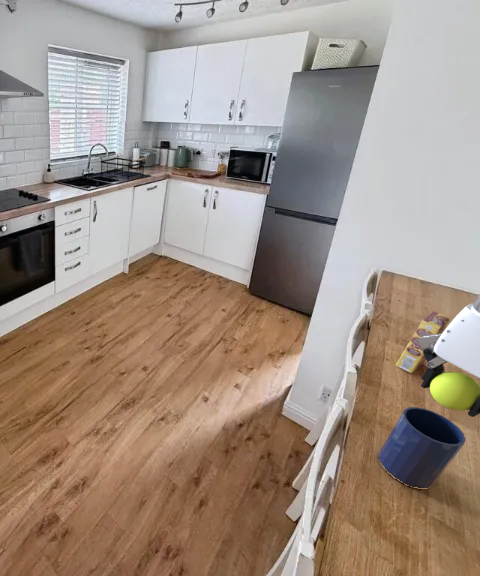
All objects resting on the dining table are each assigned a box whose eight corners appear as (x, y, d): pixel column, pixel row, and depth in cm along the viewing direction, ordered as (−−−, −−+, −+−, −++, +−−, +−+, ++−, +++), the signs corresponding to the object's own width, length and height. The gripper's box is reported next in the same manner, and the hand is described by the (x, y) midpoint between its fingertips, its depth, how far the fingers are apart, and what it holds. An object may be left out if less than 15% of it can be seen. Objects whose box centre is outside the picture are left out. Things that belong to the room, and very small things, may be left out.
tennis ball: (478, 413, 63) (499, 384, 60) (457, 423, 60) (478, 394, 57) (436, 388, 68) (453, 360, 65) (414, 396, 65) (431, 368, 63)
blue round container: (443, 480, 70) (476, 437, 64) (415, 497, 67) (447, 452, 61) (395, 444, 77) (421, 402, 71) (367, 457, 74) (392, 414, 68)
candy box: (413, 375, 98) (441, 327, 90) (394, 366, 101) (420, 319, 94) (425, 363, 102) (452, 317, 95) (407, 355, 105) (432, 310, 98)
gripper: (606, 337, 50) (527, 431, 58) (455, 282, 64) (409, 364, 72) (581, 348, 47) (502, 445, 55) (429, 288, 61) (384, 372, 69)
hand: (450, 398), depth 63 cm, fingers closed on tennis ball, 6 cm apart
